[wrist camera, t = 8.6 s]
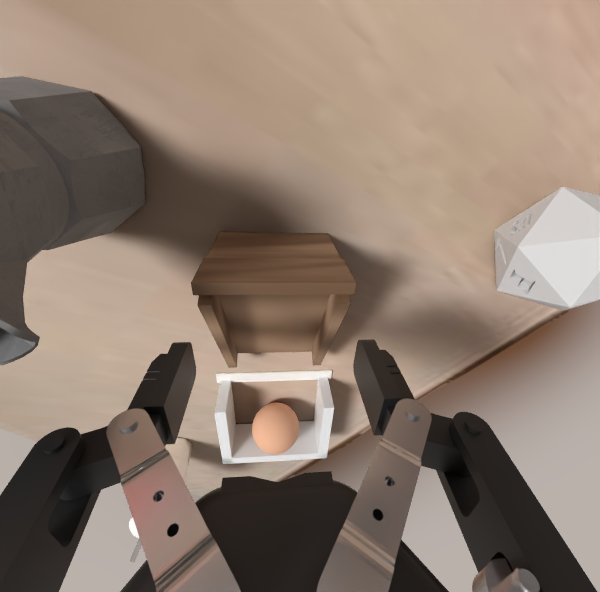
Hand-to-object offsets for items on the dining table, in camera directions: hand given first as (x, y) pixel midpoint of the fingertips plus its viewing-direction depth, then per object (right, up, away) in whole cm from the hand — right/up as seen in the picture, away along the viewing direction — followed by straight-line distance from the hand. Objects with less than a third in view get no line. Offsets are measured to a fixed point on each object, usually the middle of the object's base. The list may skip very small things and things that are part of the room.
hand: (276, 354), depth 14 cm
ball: (-1, -11, +17) cm, 20 cm away
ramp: (-1, +3, +11) cm, 12 cm away
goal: (-2, -9, +18) cm, 21 cm away
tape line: (-1, -6, +16) cm, 17 cm away
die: (+20, +8, +10) cm, 24 cm away
